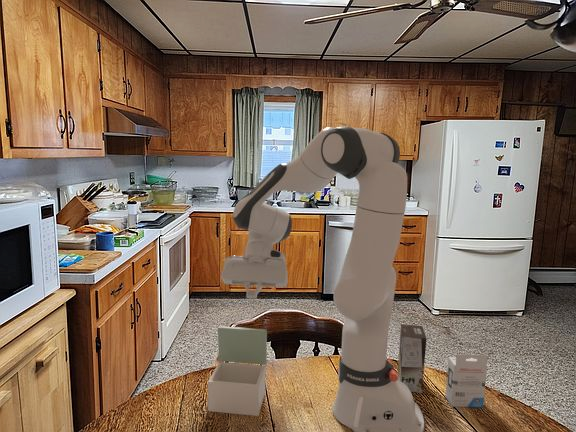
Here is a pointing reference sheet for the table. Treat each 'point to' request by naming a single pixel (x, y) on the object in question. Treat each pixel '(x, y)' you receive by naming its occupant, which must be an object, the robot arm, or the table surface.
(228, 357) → the box lid
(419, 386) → the coffee box
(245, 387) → the storage box
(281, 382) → the table surface
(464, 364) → the ink box
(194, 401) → the table surface
